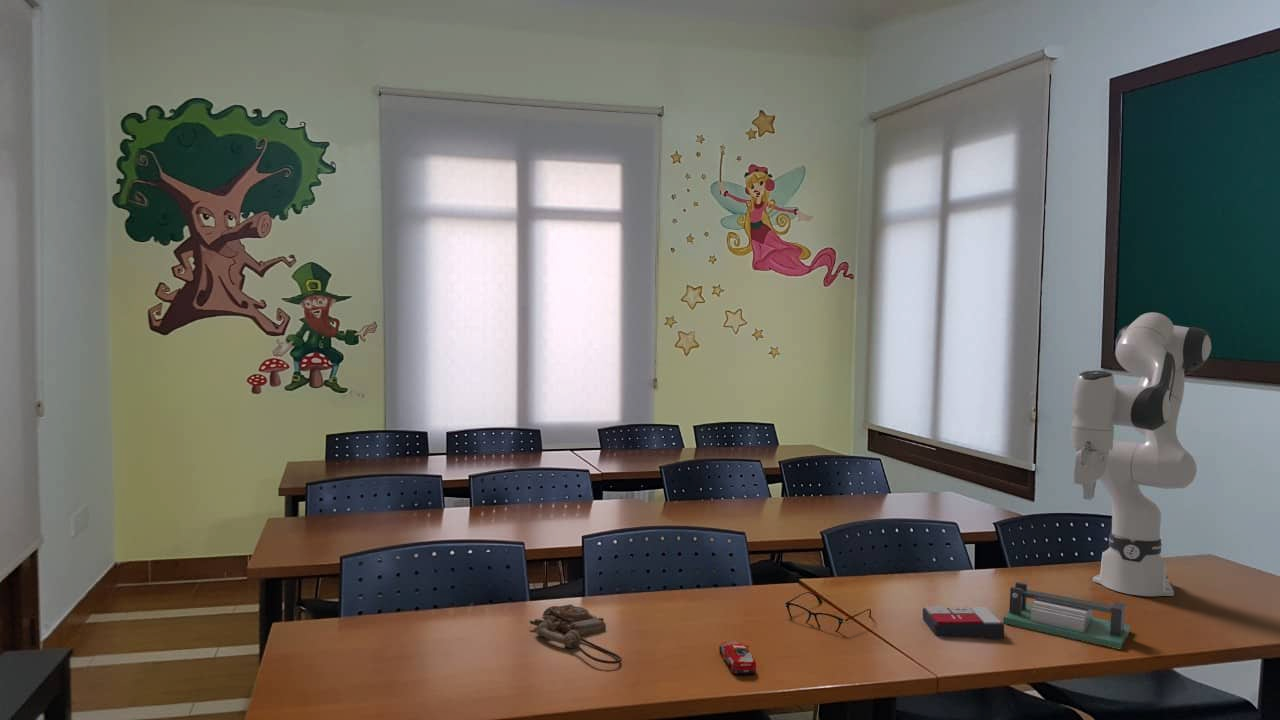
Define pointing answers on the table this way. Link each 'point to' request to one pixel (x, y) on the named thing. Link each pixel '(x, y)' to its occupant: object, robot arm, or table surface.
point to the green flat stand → (1066, 619)
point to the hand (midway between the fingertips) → (1088, 498)
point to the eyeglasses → (819, 613)
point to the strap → (1067, 601)
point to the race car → (737, 657)
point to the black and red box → (963, 622)
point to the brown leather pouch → (571, 627)
